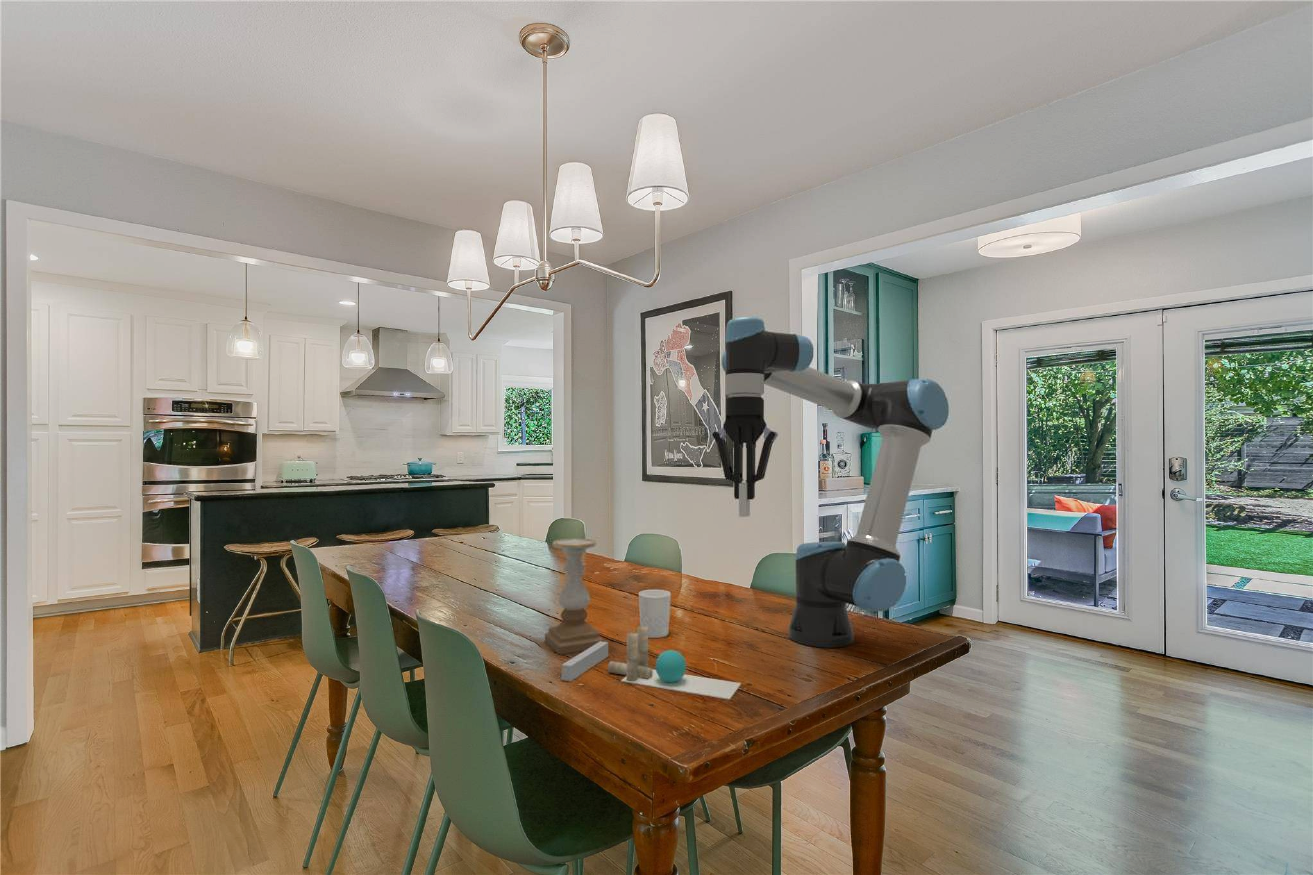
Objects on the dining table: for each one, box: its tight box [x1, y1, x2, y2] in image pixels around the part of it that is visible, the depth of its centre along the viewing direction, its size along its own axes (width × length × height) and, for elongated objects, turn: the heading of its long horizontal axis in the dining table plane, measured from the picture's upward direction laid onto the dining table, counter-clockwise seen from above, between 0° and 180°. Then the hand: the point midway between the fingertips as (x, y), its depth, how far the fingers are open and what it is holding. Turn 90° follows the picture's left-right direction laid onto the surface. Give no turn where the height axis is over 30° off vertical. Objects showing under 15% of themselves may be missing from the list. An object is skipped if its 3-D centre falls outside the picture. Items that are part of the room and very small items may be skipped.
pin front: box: [607, 660, 654, 679], centre depth 125 cm, size 2×2×9 cm
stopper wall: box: [561, 641, 609, 682], centre depth 129 cm, size 2×16×3 cm, turn 157°
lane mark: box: [620, 668, 742, 700], centre depth 121 cm, size 22×8×1 cm, turn 67°
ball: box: [655, 649, 687, 683], centre depth 122 cm, size 6×6×6 cm
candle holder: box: [544, 538, 605, 656], centre depth 144 cm, size 11×11×24 cm
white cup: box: [638, 589, 672, 639], centre depth 153 cm, size 8×8×10 cm
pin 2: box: [636, 625, 649, 667], centre depth 127 cm, size 2×2×9 cm
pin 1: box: [625, 632, 638, 681], centre depth 122 cm, size 2×2×9 cm
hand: (744, 515), depth 123 cm, fingers closed
